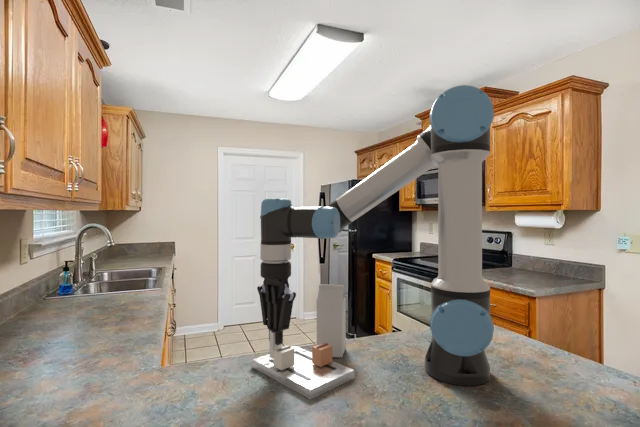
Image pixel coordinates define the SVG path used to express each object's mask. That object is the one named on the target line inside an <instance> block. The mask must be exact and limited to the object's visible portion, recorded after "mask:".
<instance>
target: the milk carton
mask: <svg viewBox="0 0 640 427" xmlns="http://www.w3.org/2000/svg"><path fill="white" fill-rule="evenodd" d="M346 298H347V297H346V292H345V285H342V284H321V283H320V284H318V291H317V297H316V345H319V344H322V343H328V345H331V346H332V358H340V357H341V359H342V358H343V357H344V353H345V351H346V348H347V346H346V345H347V344H346V343H347V342H346V341H347V340H346V335H347V333H346V331H347V330H346V326H347V324H346V323H347V322H346V318H347V317H346V313H347V312H346V311H347V310H346V304H347V303H346V302H347V301H346Z"/></svg>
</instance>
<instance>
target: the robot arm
mask: <svg viewBox="0 0 640 427" xmlns="http://www.w3.org/2000/svg"><path fill="white" fill-rule="evenodd" d="M430 108H431V109H430V112H429V124H430V125H429V126H428V127H427V128H426V129H425V130H423V131H422V132H420V134H418V135H417V137H416V141H415V142H414V143H413V144H411V145H410V146H408V147H407V148H406V149H404V150H403V151H402V152H400V153H399V154H398V155H396V156H394V157H393V158H392V159H391V160H389V161H388V162H386V163H385V164H384V165H382V166H381V167H380V168H378V169H376V170H375V171H374V172H372V173H371V174H369V175H368V176H367V177H365V178H364V179H362V180H361V181H360V182H358V183H356V184H355V185H354V186H353V187H351V188H350V189H348V190H347V191H346V192H344V193H343V194H341V195H340V196H338V197H337V198H336V199H335V200H333V201H332V202H330V203H329V204H328V205H326V206H324V205H322V206H293V204H292V201H291V199H290V198H264V199H263V200H262V201H261V205H260V217H259V219H260V251H259V252H260V257H259V258H260V260H261V262H260V277H261V278H262V279H263V284H261V285H258V286H257V293H258V295H259V301H260V308H261V317H262V324H263V326H266V328H267V330H268V341H269V354H270V357H271V358H274V350H275V349H278V348H281V347H283V343H284V331H286V330H289V329H290V323H291V317H292V310H293V306H294V305H293V304H294V301H295V298H296V297H297V292H295V291H292V290H291V289H290V283H289V278H290V277H291V276H292V263H291V261H290V260H291V259H292V238H295V239H296V238H301V239H302V238H305V239H320V240H324V239H334V238H336V237H338V235H339V233H341V232H343V231H344V229H345V228H346V227H348V225H350V224H351V223H353V222H354V221H355V220H357V219H359V218H360V217H362V216H364V215H365V214H366V213H368V212H369V211H370V210H372V209H373V208H375V207H376V206H378V205H379V204H381V203H382V202H383V201H386V200H387V199H388V198H389V197H391V196H392V195H394V194H395V193H397V192H398V191H400V190H402V189H403V188H405V187H406V186H407V185H409V184H411V183H412V182H413V181H415V180H416V179H418V178H420V176H422V175H423V174H425V173H426V172H429V170H431V169H432V168H438V170H437V172H438V175H437V177H438V178H437V179H438V180H437V183H438V186H437V187H438V188H437V190H438V194H437V195H438V196H437V198H438V200H437V202H438V204H437V205H438V206H437V211H438V212H437V213H438V214H437V215H438V217H437V218H438V220H437V221H438V223H437V224H438V225H437V226H438V228H437V229H438V232H437V236H438V237H437V238H438V243H437V245H438V248H437V250H438V251H437V252H438V253H437V255H438V258H437V259H438V260H437V261H438V262H437V264H438V268H437V269H438V271H437V273H438V274H437V277H435V278H433V280H432V281H431V283H430V285H431V286H430V318H429V329H430V331H431V339H430V342H429V345H428V348H427V351H426V354H425V357H424V370H425V372H426V373H427V374H428V375H429V376H430V377H432V378H434V379H436V380H439V381H441V382H444V383H447V384H451V385H458V386H466V387H467V386H468V387H470V386H479V385H483V384H486V383H487V382H489V381H490V379H491V366H490V363H489V360H488V357H487V354H486V351H485V350H486V349H487V348H488V347H490V344H491V343H492V340H493V337H494V330H495V326H494V322H493V318H492V317H491V286H490V285H489V284H488V283H487V282H486V281H485V280H484V279H483V162H484V161H485V160H486V159H487V158H488V157H489V156H490V155H491V125H492V124H493V121H494V118H495V116H494V114H495V112H494V106H493V102H492V99H491V98H490V96H489V95H488V94H487V93H486V92H484V90H482V89H480V88H478V87H476V86H473V85H465V84H463V85H461V84H460V85H456V86H453V87H450V88H448V89H446V90H445V91H443V92H442V93H441V94H439V96H438V97H437V98H436V99H435V101H434V102H433V105H432V107H430Z"/></svg>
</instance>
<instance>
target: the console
mask: <svg viewBox="0 0 640 427" xmlns="http://www.w3.org/2000/svg"><path fill="white" fill-rule="evenodd" d="M290 347H291V348H294V366H291V367H289V368H286V369H283V370H280V369H278V368H276V367H274V358H271V357H270V353H269V354H268V353H267V354H265V355H262V356H259V357H256V358H253V359H251V360H252V368H253V369H255V370H257V371H258V372H260V373H262V374H263V375H265V376H267V377H269V378H271V379H273V380H274V381H276V382H278V383H279V384H282V385H283V386H286V387H287V388H288V389H290V390H292V391H294V392H296V393H298V394H300V395H302V396H303V397H305V398H307V399H309V400H313V399H314V398H316V397H319V396H320V395H322V394H325V393H327V392H330V391H331V390H333V389H335V387H336V388H337V386H338V387H340V386H342V385H344V384H346V383H348V382H350V381H352V380H354V379H355V370H354V369H353V368H350V367H348V366H345V365H343V364H341V363H338V362H336V361H333V360H332V362H331V363H329V364H326V365H324V366H322V367H320V366H318V365H315V364H313V363H312V351H309V350H307V349H304V348H302V347H300V346H297V345H293V346H292V345H291V346H290ZM353 378H354V379H353ZM351 379H352V380H351ZM349 380H350V381H349ZM347 381H348V382H347ZM345 382H346V383H345ZM343 383H344V384H343ZM341 384H342V385H341ZM339 385H340V386H339Z"/></svg>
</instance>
